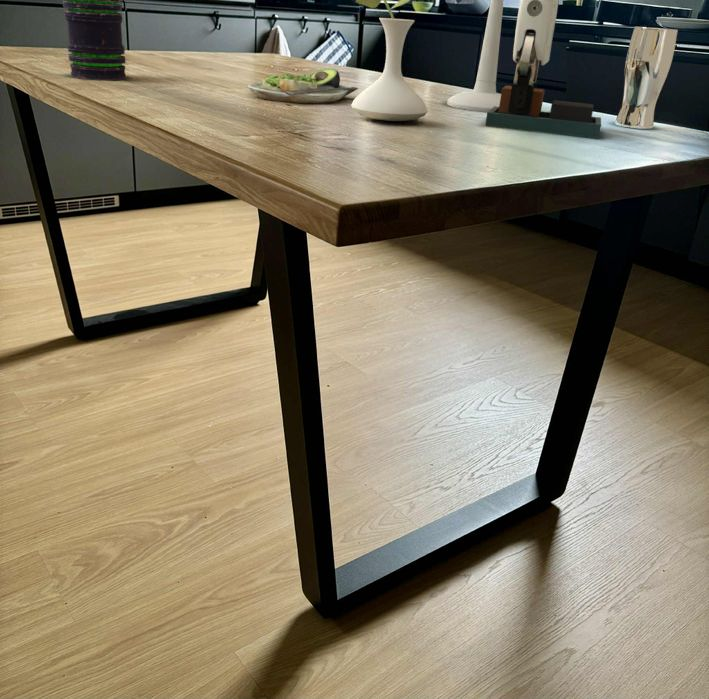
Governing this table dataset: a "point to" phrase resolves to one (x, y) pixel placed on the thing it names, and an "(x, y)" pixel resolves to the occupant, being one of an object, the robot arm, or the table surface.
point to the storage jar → (95, 39)
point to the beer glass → (645, 75)
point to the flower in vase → (390, 77)
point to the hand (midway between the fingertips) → (520, 109)
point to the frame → (543, 124)
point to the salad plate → (302, 87)
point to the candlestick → (485, 68)
